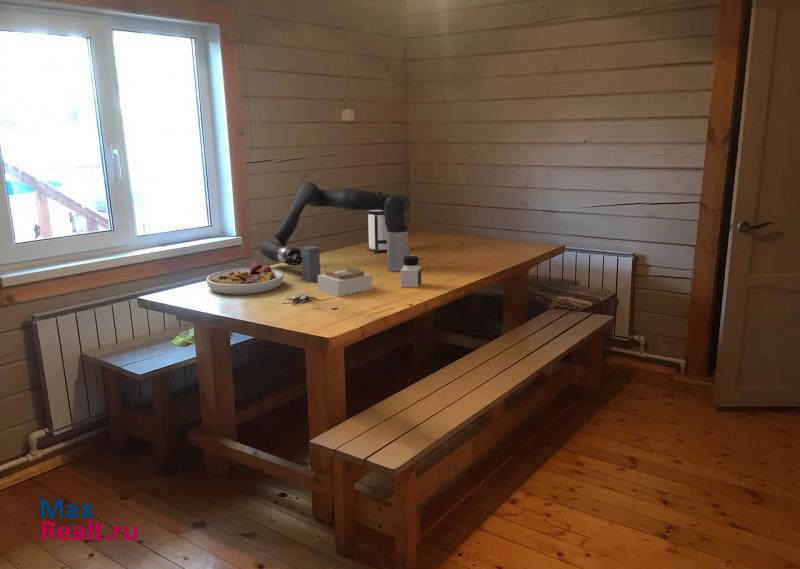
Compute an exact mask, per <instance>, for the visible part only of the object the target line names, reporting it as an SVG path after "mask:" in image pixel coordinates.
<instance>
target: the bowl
mask: <svg viewBox="0 0 800 569" xmlns="http://www.w3.org/2000/svg"><path fill="white" fill-rule="evenodd" d="M283 280H284V273H283V272H282V271H281V270H278V269H273V268H271V266H269V265H265V266H264V265H262V263H260V262H254V263H253V264H252V265H251V266H250V267H245V268H244V267H243V268H242V267H241V268H233V269H227V270H223V271H218V272H215V273H214V272H213V273H212V274H209V276H207V278H206V283H207V286H208V287H209V289H210V290H212V291H213V292H215V293H217V292H218V293H217V294H221V293H223V294H222V295H227V294H232V295H231V296H244V295H243V294H249V295H255V294H254V293H257V294H261V293H260V292H263V293H266V292H265V291H267V292H270V291H273V290H275V289H277V288H279V286H280V285H282V283H283ZM272 289H273V290H272ZM269 290H270V291H269Z"/></svg>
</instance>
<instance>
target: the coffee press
mask: <svg viewBox="0 0 800 569" xmlns="http://www.w3.org/2000/svg"><path fill="white" fill-rule="evenodd" d="M377 193H379V194H383V193H382V192H381V191H378V192H377ZM367 223H368V224H367V228H368V232H367V233H368V245H367V247H366V250H367V251H368V250H369V251H370V250H374V254H379V251H387V227H386V225H385V214H384V210H368V211H367Z"/></svg>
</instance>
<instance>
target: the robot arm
mask: <svg viewBox="0 0 800 569" xmlns="http://www.w3.org/2000/svg"><path fill="white" fill-rule="evenodd" d="M307 205H308V206H310V207H314V208H315V207H316V208H317V207H322V208H324V207H325V208H326V207H327V208H328V207H329V208H335V209H344V210H349V211H359V212H363V211H364V212H365V211H366V212H368V210H384V214H385V225H386V227H387V250H386V252H387V253H386V254H387V255H386V257H387V259H386V261H387V268H386V269H387V270H388V271H390V270H391V271H392V272H401V269H402V268H403V267H404V260H403V258H404V257H405V256H411V252H410V250H411V248H410V247H409V243H408V242H409V240H408V239H409V238H408V237H409V236H408V235H409V232H408V229H409V228H408V224H407V222H406V219H405V218H406V217H405V216H406V215H405V213H406V212H408V211H409V210H410V207H411V201H410V199H409V198H408V197H407V196H406V195H404V194H403V193H382V194H379V193H378V192H374V191H368V190H363V189H362V190H360V189H355V188H354V189H353V188H347V189H346V188H345V189H341V190H337V191H336V190H335V191H331V190H326V189H322V188H320V187H318V186H317V185H316V184H315V183H314V182H313V181H307V182H304V183H303V184H302V185H301V186H300V187H299V188H298V191H297V193H296V195H295V197H294V199H293V202H292V203H291V204H290V207H289V209H288V211H287V213H286V215H285V216H284V218H283V219H282V221H281V222H280V224H279V225H278V227H277V229H276V230H275V231H274V233H273V237H274V239H276V240H277V243H276V242H275V241H272V240H264V241H263V242H261V243H260V246H259V251H260V253H261V254H262V255H263V256H265V257H266V258H268V259H269V260H270V261H272V262H277V261H278V262H280V263H283V264H285V265H289V266H292V267H295V266H302V254H301V249H299V248H295V247H291V246H287V244H288V242H289V239H290V238H291V237H292V235H294V233H295V231H296V230H297V227H298V224H299V220H300V217H301V215H302V212H303V210H304V209H305V208H306V206H307ZM391 271H390V272H391Z"/></svg>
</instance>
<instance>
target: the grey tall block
mask: <svg viewBox="0 0 800 569" xmlns="http://www.w3.org/2000/svg"><path fill="white" fill-rule="evenodd" d="M300 251H301V254H302V263H301V270H302V271H301V272H302V273H301V274H302V281H304V280H305V281H304V282H307V281H308V283H310V282H311V283H315V282H314V281H316V282H318V275H321V259H320V257H321V256H320V247H318V246H313V245H309V246H308V245H307V246H301V247H300Z"/></svg>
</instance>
